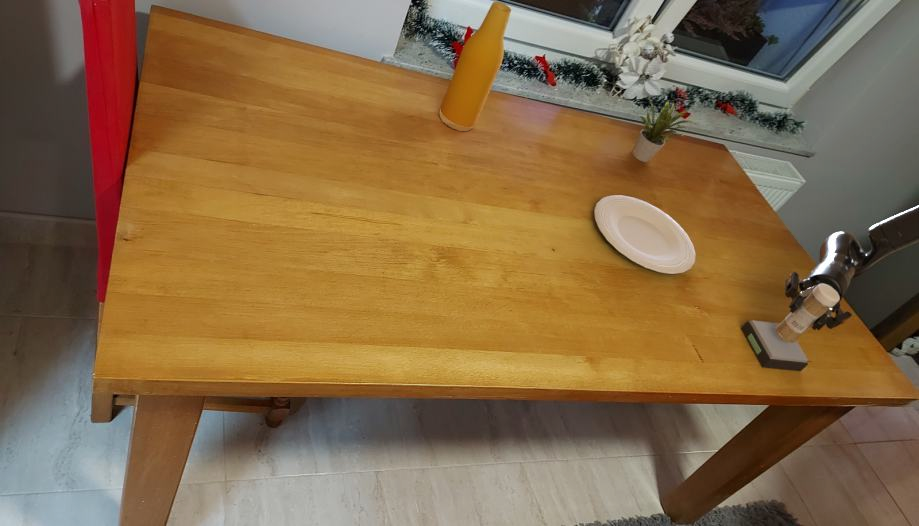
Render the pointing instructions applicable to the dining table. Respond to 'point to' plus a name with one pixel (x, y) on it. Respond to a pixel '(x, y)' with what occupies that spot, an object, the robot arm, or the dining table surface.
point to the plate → (644, 234)
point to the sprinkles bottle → (807, 313)
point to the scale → (773, 347)
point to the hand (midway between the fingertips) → (805, 317)
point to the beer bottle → (477, 69)
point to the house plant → (656, 132)
